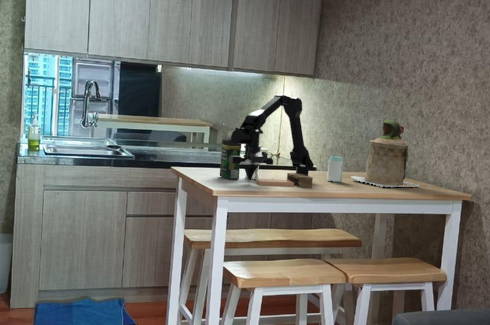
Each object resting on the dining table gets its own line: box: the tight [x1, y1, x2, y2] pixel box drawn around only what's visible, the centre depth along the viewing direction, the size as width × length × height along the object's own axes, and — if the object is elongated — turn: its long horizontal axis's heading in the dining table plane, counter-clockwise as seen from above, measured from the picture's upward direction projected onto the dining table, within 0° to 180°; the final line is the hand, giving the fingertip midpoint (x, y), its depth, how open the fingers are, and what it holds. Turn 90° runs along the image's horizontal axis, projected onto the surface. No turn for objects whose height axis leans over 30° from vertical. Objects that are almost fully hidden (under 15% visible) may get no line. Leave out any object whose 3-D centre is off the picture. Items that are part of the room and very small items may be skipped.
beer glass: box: [244, 145, 262, 180], centre depth 307 cm, size 7×7×15 cm
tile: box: [255, 178, 295, 187], centre depth 291 cm, size 8×15×2 cm, turn 104°
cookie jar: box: [350, 117, 420, 188], centre depth 322 cm, size 25×25×32 cm
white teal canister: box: [326, 155, 344, 183], centre depth 319 cm, size 7×7×12 cm
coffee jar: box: [219, 136, 242, 180], centre depth 300 cm, size 10×8×19 cm
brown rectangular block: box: [286, 172, 314, 188], centre depth 296 cm, size 13×6×4 cm, turn 22°
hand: (249, 180), depth 287 cm, fingers closed
